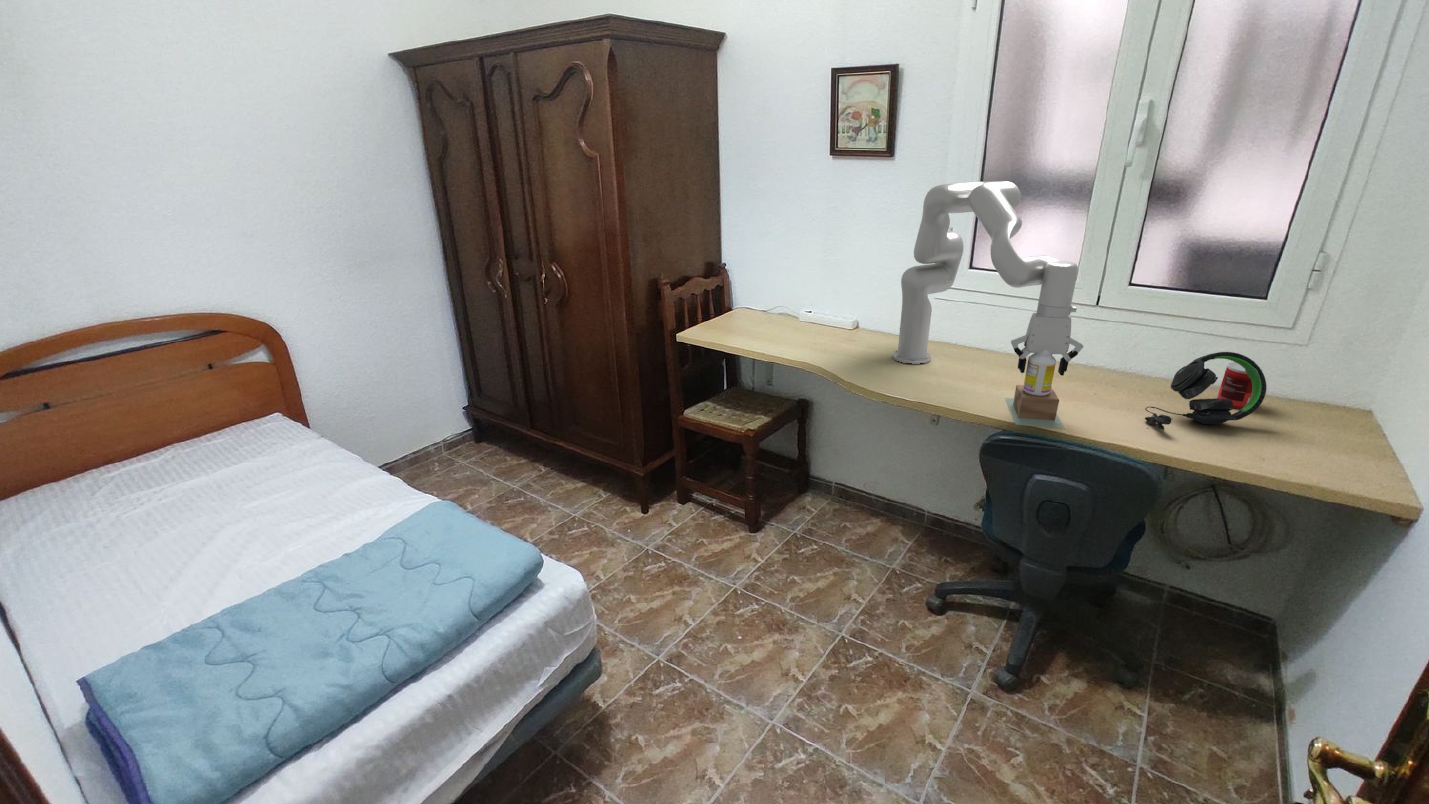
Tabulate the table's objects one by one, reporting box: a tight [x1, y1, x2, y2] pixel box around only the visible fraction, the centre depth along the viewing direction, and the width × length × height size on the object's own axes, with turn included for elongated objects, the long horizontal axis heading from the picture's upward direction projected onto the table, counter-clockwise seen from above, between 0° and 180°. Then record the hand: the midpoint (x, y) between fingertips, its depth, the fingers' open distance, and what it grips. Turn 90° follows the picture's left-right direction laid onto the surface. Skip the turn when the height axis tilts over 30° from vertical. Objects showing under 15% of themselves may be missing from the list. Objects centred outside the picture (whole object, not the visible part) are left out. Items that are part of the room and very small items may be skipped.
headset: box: [1144, 351, 1268, 431], centre depth 165 cm, size 18×14×29 cm
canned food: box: [1216, 361, 1263, 410], centre depth 177 cm, size 8×8×11 cm
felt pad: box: [1004, 397, 1066, 429], centre depth 176 cm, size 18×12×1 cm, turn 166°
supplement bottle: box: [1023, 350, 1057, 396], centre depth 171 cm, size 7×7×13 cm
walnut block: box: [1013, 384, 1060, 421], centre depth 175 cm, size 9×9×6 cm
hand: (1041, 372), depth 171 cm, fingers open, 9 cm apart
